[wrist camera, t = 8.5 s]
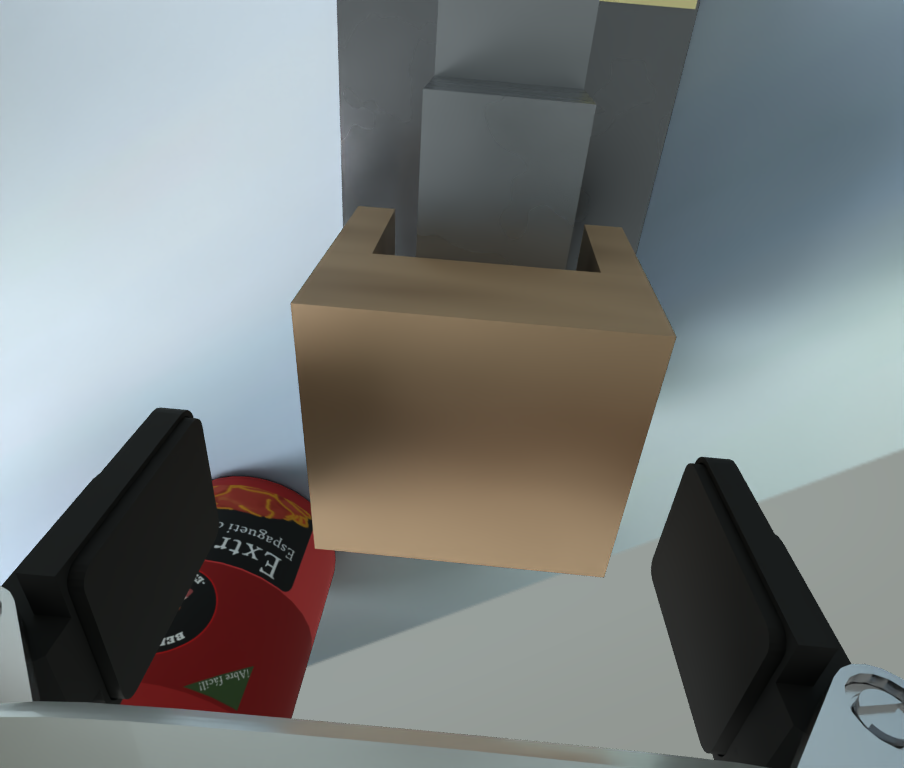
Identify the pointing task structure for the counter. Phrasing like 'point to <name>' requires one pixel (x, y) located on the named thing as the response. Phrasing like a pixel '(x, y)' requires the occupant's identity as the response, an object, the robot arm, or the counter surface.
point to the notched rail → (507, 120)
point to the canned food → (245, 609)
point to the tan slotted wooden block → (475, 400)
